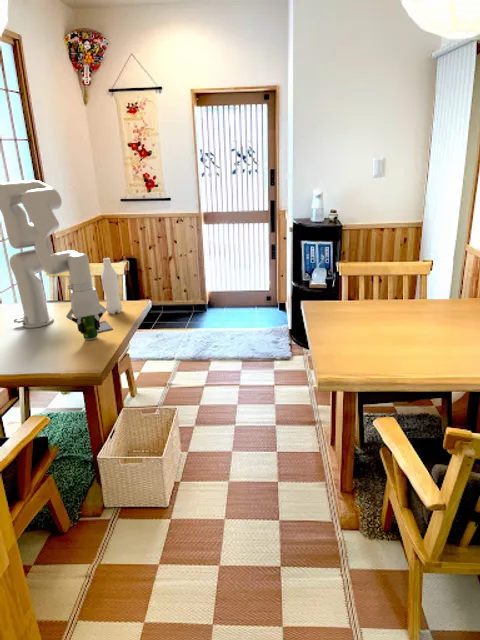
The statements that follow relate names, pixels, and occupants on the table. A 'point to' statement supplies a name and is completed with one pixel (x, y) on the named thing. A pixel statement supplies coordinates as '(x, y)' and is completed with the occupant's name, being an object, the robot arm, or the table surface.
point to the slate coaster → (104, 327)
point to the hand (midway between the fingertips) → (89, 330)
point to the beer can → (89, 327)
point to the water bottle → (111, 287)
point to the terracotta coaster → (102, 320)
